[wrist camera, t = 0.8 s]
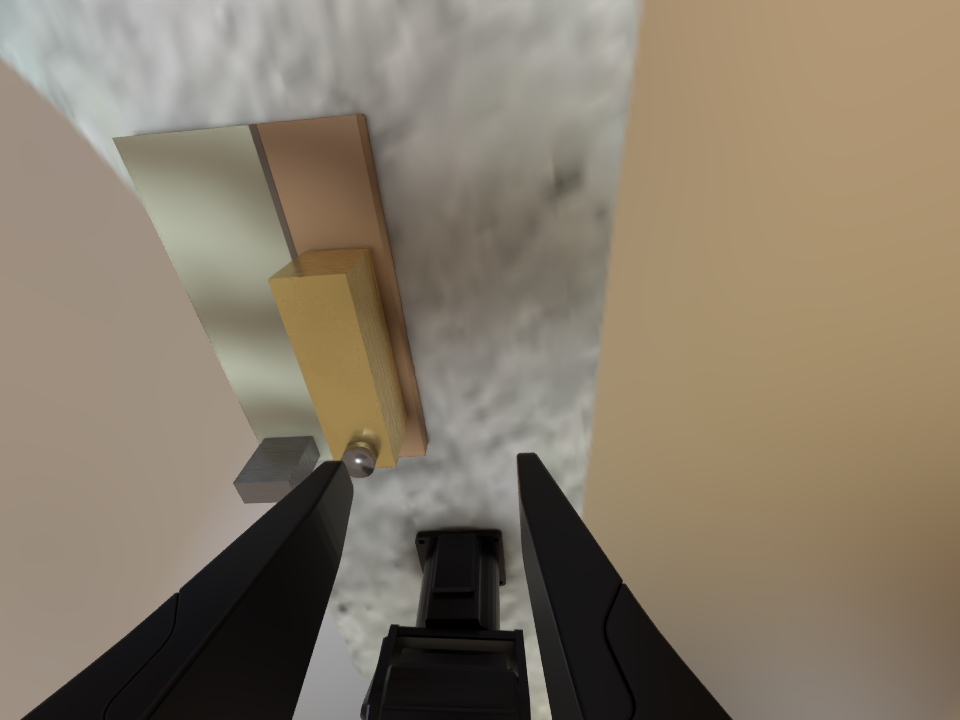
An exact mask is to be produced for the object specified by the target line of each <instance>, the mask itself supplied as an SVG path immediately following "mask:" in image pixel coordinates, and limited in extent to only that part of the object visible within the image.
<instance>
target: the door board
mask: <svg viewBox="0 0 960 720" xmlns="http://www.w3.org/2000/svg"><path fill="white" fill-rule="evenodd" d="M112 139H113V141H114V143H115V145H116V147H117V149H118V151H119V153H120V155H121V158H122V160H123V162H124V164H125V166H126V168H127V170H128V172H129V174H130V176H131V178H132V180H133V183H134V185H135V187H136V189H137V191H138V193H139V195H140V197H141V199H142V201H143V203H144V205H145V207H146V210H147V212H148V214H149V216H150V218H151V220H152V222H153V224H154V226H155V228H156V230H157V232H158V235H159V237H160V239H161V241H162V243H163V245H164V247H165V249H166V251H167V253H168V255H169V257H170V259H171V261H172V264H173V266H174V268H175V270H176V272H177V274H178V276H179V278H180V280H181V282H182V284H183V286H184V289H185V291H186V293H187V295H188V297H189V299H190V301H191V303H192V305H193V307H194V309H195V311H196V314H197V316H198V318H199V320H200V322H201V324H202V326H203V328H204V330H205V332H206V334H207V337H208V339H209V341H210V343H211V345H212V347H213V349H214V351H215V353H216V355H217V357H218V359H219V362H220V364H221V366H222V368H223V370H224V372H225V374H226V376H227V378H228V380H229V382H230V384H231V386H232V389H233V391H234V393H235V395H236V397H237V399H238V401H239V403H240V405H241V407H242V409H243V411H244V414H245V416H246V418H247V420H248V422H249V424H250V426H251V428H252V430H253V432H254V434H255V436H256V439H257V440H258V443H259V445H260V444H261V442H262V441H263V439H264V438H276V437H298V436H313V438H314V440H315V443H316V446H317V448H318V451H319V453H320V457H319V459H318V460H333V458H332V455H331V452H330V450H329V447H328V444H327V441H326V439H325V436H324V433H323V430H322V428H321V425H320V422H319V419H318V417H317V414H316V411H315V408H314V406H313V403H312V400H311V397H310V395H309V392H308V389H307V387H306V384H305V381H304V378H303V376H302V373H301V370H300V367H299V365H298V362H297V359H296V356H295V354H294V351H293V348H292V345H291V343H290V340H289V337H288V334H287V332H286V329H285V326H284V324H283V321H282V318H281V315H280V313H279V310H278V307H277V304H276V302H275V299H274V296H273V293H272V291H271V288H270V285H269V282H268V280H267V279H268V278H270V277H271V276H272V275H274V274H275V273H276V272H278V271H279V270H280V269H282V268H283V267H284V266H286V265H287V264H288V263H290V262H291V261H292V260H293V259H295V258H296V257H297V256H299V255H300V254H301V253H303V252H306V251H320V250H333V249H347V248H360V247H370V251H371V256H372V260H373V265H374V270H375V274H376V279H377V283H378V288H379V292H380V297H381V301H382V306H383V310H384V315H385V319H386V324H387V328H388V333H389V338H390V342H391V347H392V351H393V356H394V360H395V365H396V369H397V374H398V378H399V383H400V387H401V392H402V397H403V401H404V406H405V410H406V415H407V419H408V423H407V427H406V431H405V435H404V438H403V442H402V446H401V449H400V453H399V457H411V456H425V455H426V450H427V444H428V440H427V435H426V430H425V425H424V420H423V415H422V409H421V404H420V399H419V394H418V389H417V384H416V379H415V374H414V368H413V363H412V358H411V353H410V348H409V343H408V338H407V332H406V327H405V322H404V317H403V312H402V307H401V302H400V297H399V291H398V286H397V281H396V276H395V271H394V266H393V261H392V255H391V250H390V245H389V240H388V235H387V230H386V225H385V220H384V214H383V209H382V204H381V199H380V194H379V189H378V184H377V178H376V173H375V168H374V163H373V158H372V153H371V148H370V142H369V137H368V132H367V127H366V122H365V117H364V114H361V115H347V116H337V117H326V118H316V119H305V120H295V121H284V122H274V123H263V124H252V125H242V126H232V127H221V128H211V129H200V130H190V131H179V132H169V133H158V134H147V135H137V136H126V137H116V138H112Z"/></svg>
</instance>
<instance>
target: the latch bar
mask: <svg viewBox="0 0 960 720" xmlns="http://www.w3.org/2000/svg"><path fill="white" fill-rule="evenodd" d="M267 280H268V282H269V285H270V288H271V291H272V293H273V296H274V299H275V302H276V304H277V307H278V310H279V313H280V315H281V318H282V321H283V324H284V326H285V329H286V332H287V334H288V337H289V340H290V343H291V345H292V348H293V351H294V354H295V356H296V359H297V362H298V365H299V367H300V370H301V373H302V376H303V378H304V381H305V384H306V387H307V389H308V392H309V395H310V397H311V400H312V403H313V406H314V408H315V411H316V414H317V417H318V419H319V422H320V425H321V428H322V430H323V433H324V436H325V439H326V441H327V444H328V447H329V450H330V452H331V455H332V458H333V461H337V460H341V461H343V462H344V463H345V464H346V467H347V470H348V472H349V475H350V476H352V477H356V478H364V477H367V476H369V475H371V474H372V473H373V470H374V468H389V467H396V464H397V461H398V457H399V453H400V449H401V446H402V442H403V438H404V435H405V431H406V427H407V423H408V419H407V415H406V410H405V406H404V401H403V397H402V392H401V387H400V383H399V378H398V374H397V369H396V365H395V360H394V356H393V351H392V347H391V342H390V338H389V333H388V328H387V324H386V319H385V315H384V310H383V306H382V301H381V297H380V292H379V288H378V283H377V279H376V274H375V270H374V265H373V260H372V256H371V251H370V247H360V248H347V249H333V250H320V251H306V252H303V253H301V254H300V255H299V256H297V257H296V258H295V259H293V260H292V261H291V262H290V263H288V264H287V265H286V266H284V267H283V268H282V269H280V270H279V271H278V272H276V273H275V274H274V275H272V276H271V277H270V278H268V279H267Z"/></svg>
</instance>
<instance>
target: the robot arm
mask: <svg viewBox="0 0 960 720" xmlns="http://www.w3.org/2000/svg"><path fill="white" fill-rule="evenodd" d="M517 476H518V494H519V510H520V526H521V542H522V553H523V561H524V568H525V573H526V579H527V584H528V590H529V595H530V601H531V606H532V611H533V617H534V622H535V628H536V633H537V639H538V644H539V650H540V655H541V660H542V666H543V671H544V677H545V682H546V688H547V693H548V699H549V704H550V709H551V715H552V720H733V719H732V718H731V717H730V716H729V715H728V713H727V712H726V711H725V710H724V709H723V707H722V706H721V705H720V704H719V703H718V702H717V700H716V699H715V698H714V697H713V696H712V694H711V693H710V692H709V691H708V690H707V689H706V687H705V686H704V685H703V684H702V683H701V682H700V680H699V679H698V678H697V677H696V675H695V674H694V673H693V672H692V671H691V669H690V668H689V667H688V666H687V665H686V664H685V662H684V661H683V660H682V659H681V658H680V656H679V655H678V654H677V653H676V651H675V650H674V649H673V648H672V646H671V645H670V644H669V643H668V642H667V640H666V639H665V638H664V637H663V635H662V634H661V633H660V631H659V630H658V629H657V627H656V626H655V625H654V623H653V622H652V620H651V619H650V618H649V616H648V615H647V614H646V612H645V611H644V609H643V608H642V607H641V605H640V604H639V603H638V601H637V600H636V598H635V597H634V595H633V594H632V592H631V591H630V589H629V588H628V587H627V585H626V584H625V583H623V580H622V578H621V577H620V575H619V574H618V572H617V571H616V570H615V568H614V566H613V565H612V564H611V562H610V561H609V559H608V558H607V556H606V555H605V553H604V552H603V551H602V549H601V547H600V546H599V545H598V543H597V542H596V540H595V539H594V537H593V536H592V534H591V533H590V532H589V530H588V529H587V527H586V526H585V524H584V523H583V521H582V520H581V518H580V517H579V515H578V514H577V512H576V511H575V510H574V508H573V507H572V505H571V504H570V502H569V501H568V499H567V498H566V496H565V495H564V493H563V492H562V491H561V489H560V488H559V486H558V485H557V483H556V482H555V480H554V479H553V477H552V476H551V475H550V473H549V472H548V470H547V469H546V467H545V466H544V464H543V463H542V461H541V460H540V458H539V457H538V456H537V454H535V453H519V454H517ZM353 492H354V491H353V484H352V481H351V478H350V475H349V472H348V470H347V467H346V464H345V463H344V462H343V461H341V460H337V461H325V462H323V463H322V464H321V465H320V466H319V467H317V468H316V469H315V470H314V471H313V472H312V473H311V474H310V475H308V476H307V477H306V478H305V479H304V480H303V481H302V482H300V483H299V484H298V485H297V486H296V487H295V488H294V489H293V490H291V491H290V492H289V493H288V494H287V495H286V496H285V497H283V498H282V499H281V500H280V501H279V502H278V503H277V504H276V505H275V506H273V507H272V508H271V509H270V510H269V511H268V512H267V513H265V514H264V515H263V516H262V517H261V518H260V519H259V520H258V521H256V522H255V523H254V524H253V525H252V526H251V527H250V528H249V529H247V530H246V531H245V532H244V533H243V534H242V535H240V536H239V537H238V538H237V539H236V540H235V541H234V542H233V543H231V544H230V545H229V546H228V547H227V548H226V549H225V550H223V551H222V552H221V553H220V554H219V555H218V556H217V557H216V558H215V559H213V560H212V561H211V562H210V563H209V564H208V565H206V566H205V567H204V568H203V569H202V570H201V571H200V572H199V573H197V574H196V575H195V576H194V577H193V578H192V579H191V580H189V581H188V582H187V583H186V584H185V585H184V586H183V587H182V588H181V589H180V590H179V593H175V594H173V596H171V597H170V598H169V599H168V600H167V601H166V602H164V603H163V604H162V605H161V606H160V607H159V608H158V609H156V610H155V611H154V612H153V613H152V614H151V615H149V616H148V617H147V618H146V619H145V620H144V621H143V622H141V623H140V624H139V625H138V626H137V627H136V628H134V629H133V630H132V631H131V632H130V633H128V634H127V635H126V636H125V637H124V638H122V639H121V640H120V641H119V642H118V643H116V644H115V645H114V646H113V647H111V648H110V649H109V650H108V651H106V652H105V653H104V654H103V655H101V656H100V657H99V658H98V659H97V660H95V661H94V662H93V663H92V664H91V665H89V666H88V667H87V668H85V669H84V670H83V671H82V672H80V673H79V674H78V675H77V676H75V677H74V678H73V679H71V680H70V681H69V682H68V683H66V684H65V685H64V686H63V687H61V688H60V689H59V690H57V691H56V692H55V693H54V694H52V695H51V696H50V697H49V698H47V699H46V700H45V701H43V702H42V703H41V704H40V705H38V706H37V707H36V708H35V709H33V710H32V711H31V712H30V713H28V714H27V715H26V716H24V717H23V718H22V719H21V720H292V717H293V715H294V711H295V708H296V705H297V702H298V698H299V695H300V692H301V689H302V685H303V682H304V679H305V676H306V672H307V669H308V666H309V663H310V659H311V656H312V653H313V649H314V646H315V643H316V640H317V636H318V633H319V630H320V627H321V624H322V620H323V617H324V614H325V611H326V607H327V604H328V601H329V598H330V594H331V591H332V588H333V585H334V581H335V578H336V575H337V571H338V568H339V564H340V560H341V556H342V551H343V546H344V541H345V536H346V531H347V525H348V520H349V515H350V510H351V505H352V500H353ZM415 544H416V548H417V551H418V555H419V559H420V563H421V567H422V571H423V580H422V587H421V593H420V600H419V607H418V614H417V620H416V627H406V626H399V625H397V624H391V626H390V630H389V633H388V636H387V637H385V638H383V641H382V646H381V651H380V656H379V660H378V664H377V668H376V671H375V674H374V676H373V679H372V681H371V684H370V686H369V689H368V691H367V694H366V697H365V699H364V702H363V704H362V708H361V714H360V717H361V719H362V720H531V712H530V697H529V686H528V677H527V667H526V657H525V648H524V638H523V630H518V629H514V631H503V630H500V599H499V586H503V585H505V584H506V575H505V563H504V551H503V539H502V533H501V532H499V531H471V532H436V533H419V534H417V535H416V539H415ZM622 583H623V584H622Z"/></svg>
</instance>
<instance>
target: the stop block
mask: <svg viewBox="0 0 960 720" xmlns="http://www.w3.org/2000/svg"><path fill="white" fill-rule="evenodd" d="M319 457H320V453H319V451H318V448H317V446H316V443H315V440H314V438H313V436H298V437H276V438H264V439H263V441H262V442H261V444H260V445H259V447H258V448H257V449H256V451H255V452H254V454H253V455H252V457H251V458H250V459H249V461H248V462H247V464H246V465H245V467H244V468H243V470H242V471H241V472H240V474H239V475H238V477H237V478H236V480H235V481H234V483H233V484H234V486H235V487H236V489H237V491H238V493H239V495H240V496H241V498H242V500H243V502H244V503H272V502H279V501H280V500H281V499H282V498H283V497H285V496H286V495H287V494H288V493H289V492H290V491H291V490H293V489H294V488H295V487H296V486H297V485H298V484H299V483H300V482H302V481H303V480H304V479H305V478H306V477H307V476H308V475H310V474H311V473H312V471H313V469H314V467H315V465H316V463H317V461H318V459H319Z"/></svg>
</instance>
